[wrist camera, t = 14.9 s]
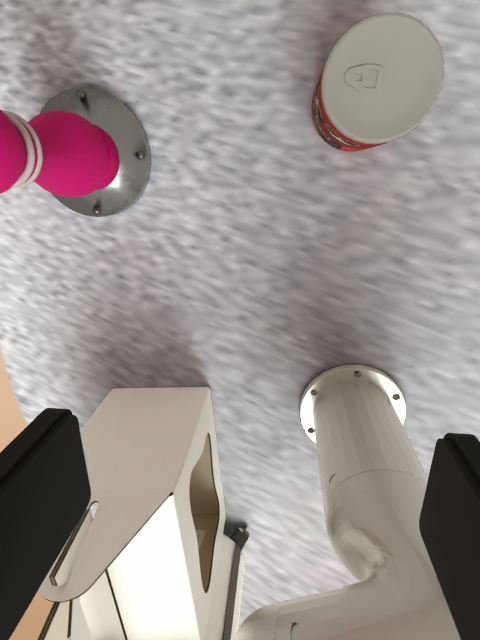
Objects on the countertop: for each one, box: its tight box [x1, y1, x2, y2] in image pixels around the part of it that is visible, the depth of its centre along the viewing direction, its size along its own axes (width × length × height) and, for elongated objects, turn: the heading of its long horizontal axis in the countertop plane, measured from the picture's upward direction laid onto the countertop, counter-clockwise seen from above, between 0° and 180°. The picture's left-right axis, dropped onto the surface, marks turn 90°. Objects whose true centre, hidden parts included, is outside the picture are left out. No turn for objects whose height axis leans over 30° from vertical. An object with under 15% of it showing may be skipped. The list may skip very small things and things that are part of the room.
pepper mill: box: [0, 110, 120, 197], centre depth 29 cm, size 7×7×20 cm
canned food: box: [312, 13, 444, 151], centre depth 30 cm, size 8×8×11 cm
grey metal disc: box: [40, 88, 151, 217], centre depth 39 cm, size 12×12×2 cm
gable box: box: [38, 387, 226, 640], centre depth 40 cm, size 22×13×28 cm, turn 5°
